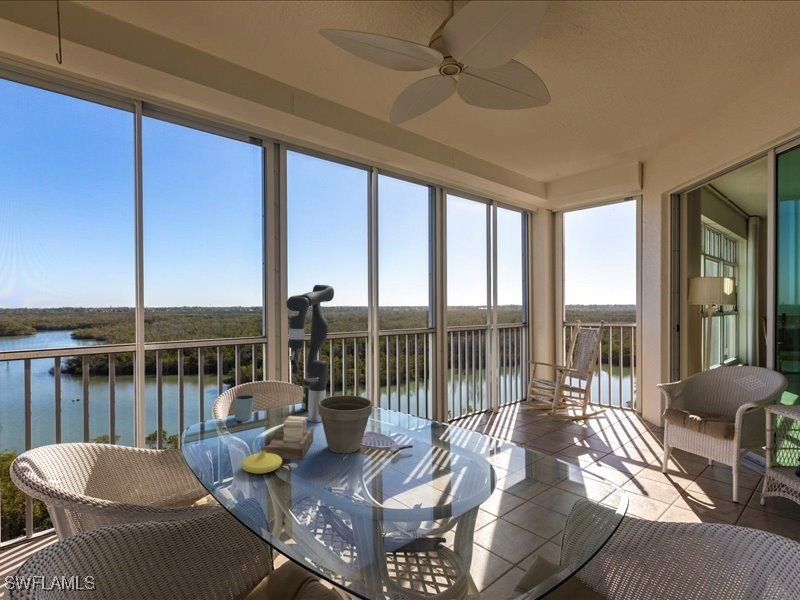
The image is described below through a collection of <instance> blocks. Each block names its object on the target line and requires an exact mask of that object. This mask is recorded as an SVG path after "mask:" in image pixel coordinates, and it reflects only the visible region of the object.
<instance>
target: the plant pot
mask: <svg viewBox="0 0 800 600" xmlns="http://www.w3.org/2000/svg"><path fill="white" fill-rule="evenodd" d="M318 409H319V415H320V416H321V419H322V422H321V423H322V426H323V431H324V436H325V440H326V445H327V447H328V449H329V451H330V452H332V453H335V452H336V454H340V453H345V454H346V453H347V454H352V452H353V453H355V452H357V451H359V450H360V448H361V445H362V442H363V438H364V435H365V432H366V428H367V424H368V421H369V418H370V416H371V415H372V411H373V401H372V400H371V399H369V398H366V397H365V396H357V395H351V394H348V395H347V394H346V395H332V396H327V397H326V398H324V399H322V400H320V401H319V403H318ZM345 454H344V455H345Z"/></svg>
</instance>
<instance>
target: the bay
mask: <svg viewBox="0 0 800 600" xmlns="http://www.w3.org/2000/svg"><path fill="white" fill-rule="evenodd" d="M314 430H315V429H314V426H309V429H308V430H307V431H306V435H305V436H304V438H303V439H302V441H301V442H300V448H293V447H283V439H284V430H279V429H277V430H275V431H274V438H273V439H272V440H271V441H270V442H269V444H268V445H262V446H261V448H260V451H265V453H273V454H276V455H278V456H280V457H281V459H282V460H301V461H303V459H304V458H305V456H306V455H307V453H308V451H309V449H310V447H311V446H312V444H313V442H314Z"/></svg>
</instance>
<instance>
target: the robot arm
mask: <svg viewBox="0 0 800 600" xmlns="http://www.w3.org/2000/svg"><path fill="white" fill-rule="evenodd" d="M312 288H313V289H312V291H310V292H306V293H303V294H300V295H299V294H298V295H297V294H296V295H291V296H289V298H287V300H286V302H285V303H286V309H288V310H289V311H292V312H298V314H297V315H293V316H291V317H290V318H289V327H288V340H287V346H288V347H287V348H289V349H291V351H290V356H289V360H290V361H289V362H290V365H291V366H292V372H291V373H292V374H297V373H298V371H299V364H300V360H301V356H302V351H301V349H303V348H304V347H305V321H306V316H307V313H308V309H309V308H310V307H312V308H311V309H312V311H311V312H312V313H311V325H310V342H309V350H308V351H309V352H308V358H307V365H306V374H307V376H309V377H311V378H317V379H318V381H317V382H313V383H311V384H310V385H309V401H308V410H307V422H311V423H322V419H321V416H320V415H319V409H318V403H319V401H320V400H322V399H324V398H327V397H326V396H327V395H326V394H327V384H328V375H329V364H328V362H327V361H326V360H317V359H318V354H319V351H320V349H321V348H322V346H323V345H324V343H325V342H326V340H327V338H328V331H329V329H328V328H329V325H328V321H327V320H326V317H325V316H324V314H323V312H322V308H321V303H328V302H331V301H332V300H333V299H334V295H335V289H334V287H333V286H331V285H328V284H327V285H326V284H315V285H314V286H313V287H312Z"/></svg>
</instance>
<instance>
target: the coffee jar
mask: <svg viewBox="0 0 800 600" xmlns="http://www.w3.org/2000/svg"><path fill="white" fill-rule="evenodd" d="M317 381H318V377H309V378H308V377H307V378H303V379H302V389H303V391H302V400H301V409H302V410H304V411H308V401H309V385H310V384H311V383H313V382H317Z"/></svg>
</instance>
